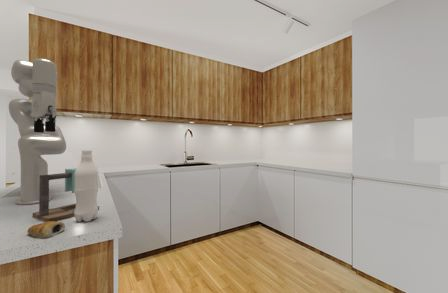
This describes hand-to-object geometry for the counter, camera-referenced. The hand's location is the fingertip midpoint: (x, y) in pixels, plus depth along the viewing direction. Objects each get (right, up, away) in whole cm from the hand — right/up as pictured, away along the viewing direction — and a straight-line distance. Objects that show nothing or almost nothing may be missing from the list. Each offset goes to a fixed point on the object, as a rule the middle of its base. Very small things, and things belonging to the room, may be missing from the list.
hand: (44, 132), depth 85 cm
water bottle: (+25, -33, -11) cm, 42 cm away
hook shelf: (+12, -32, -4) cm, 35 cm away
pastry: (+20, -33, -23) cm, 45 cm away
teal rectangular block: (+14, -24, -1) cm, 28 cm away
